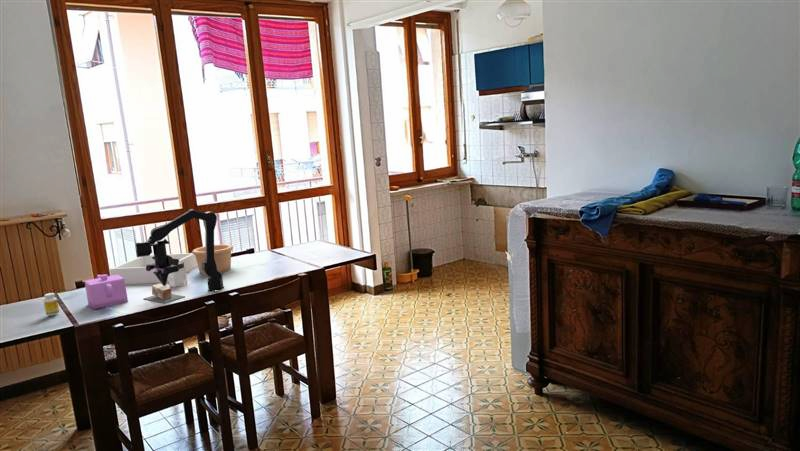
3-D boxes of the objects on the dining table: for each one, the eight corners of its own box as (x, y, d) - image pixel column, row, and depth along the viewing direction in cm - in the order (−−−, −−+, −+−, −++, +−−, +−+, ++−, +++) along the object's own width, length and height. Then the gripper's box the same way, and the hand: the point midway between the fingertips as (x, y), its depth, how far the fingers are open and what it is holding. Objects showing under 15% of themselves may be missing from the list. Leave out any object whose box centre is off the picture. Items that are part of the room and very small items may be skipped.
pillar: (171, 288, 280) (160, 283, 285) (162, 290, 277) (151, 285, 282) (171, 296, 282) (160, 291, 286) (163, 299, 278) (152, 294, 283)
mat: (185, 297, 281) (185, 296, 280) (164, 303, 272) (164, 302, 272) (163, 293, 291) (163, 292, 291) (143, 299, 282) (143, 298, 282)
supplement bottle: (44, 314, 268) (40, 294, 266) (57, 311, 272) (53, 291, 270) (48, 316, 264) (44, 296, 262) (61, 313, 268) (57, 293, 266)
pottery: (210, 279, 314) (207, 253, 312) (187, 275, 328) (184, 250, 325) (243, 270, 331) (240, 245, 329) (220, 266, 345) (217, 243, 342)
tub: (198, 267, 346) (196, 252, 344) (171, 282, 312) (169, 266, 311) (144, 270, 349) (142, 255, 348) (112, 285, 316) (109, 269, 314)
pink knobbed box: (118, 294, 296) (114, 267, 294) (130, 303, 276) (126, 275, 274) (85, 301, 287) (81, 274, 285) (95, 311, 267) (90, 282, 265)
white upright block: (166, 286, 305) (163, 264, 303) (179, 282, 312) (176, 261, 310) (177, 287, 300) (174, 265, 298) (190, 283, 307) (187, 262, 305)
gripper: (186, 251, 278) (190, 283, 280) (163, 249, 288) (168, 279, 291) (165, 256, 269) (170, 289, 271) (143, 254, 280) (147, 285, 282)
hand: (164, 285), depth 279 cm, fingers closed
